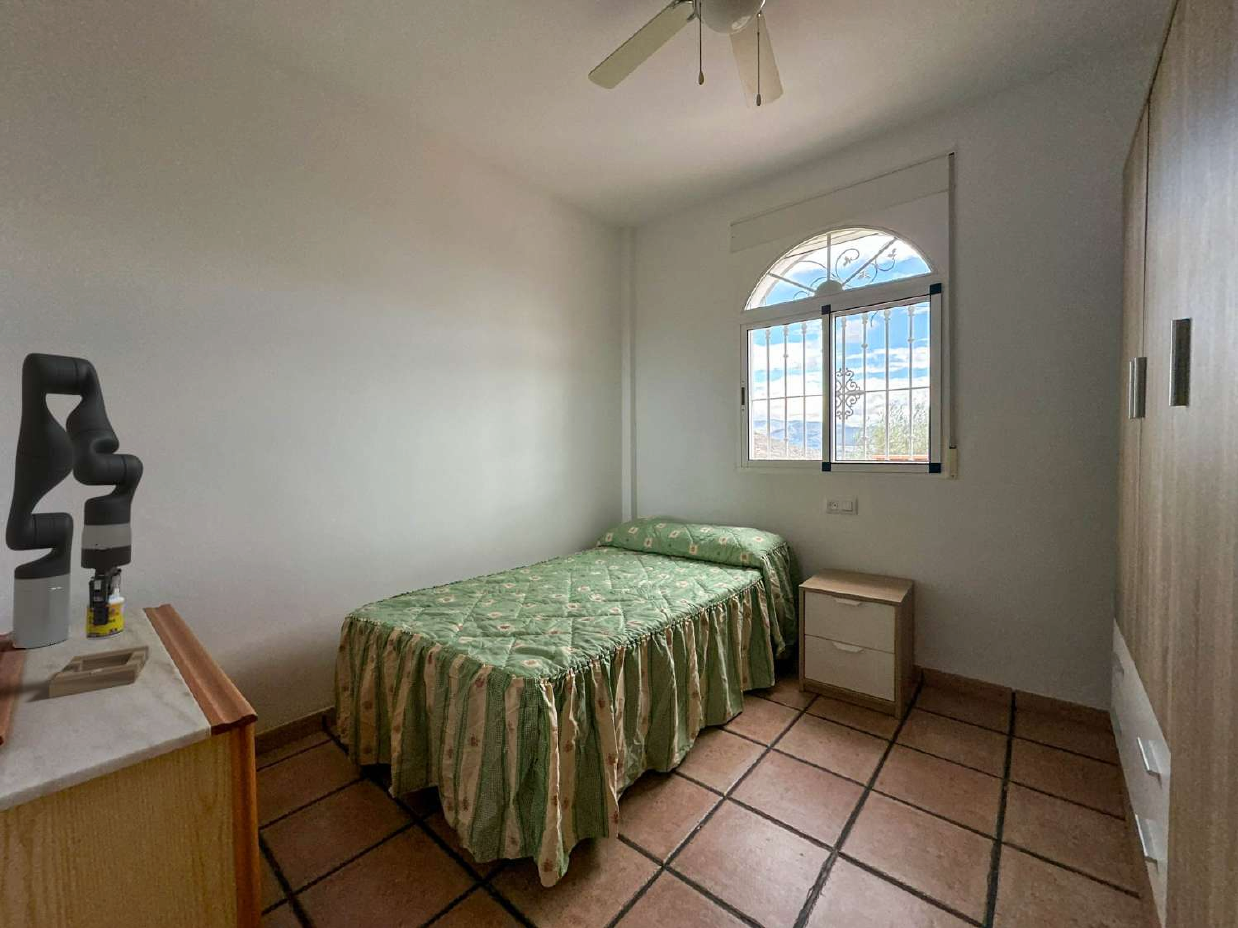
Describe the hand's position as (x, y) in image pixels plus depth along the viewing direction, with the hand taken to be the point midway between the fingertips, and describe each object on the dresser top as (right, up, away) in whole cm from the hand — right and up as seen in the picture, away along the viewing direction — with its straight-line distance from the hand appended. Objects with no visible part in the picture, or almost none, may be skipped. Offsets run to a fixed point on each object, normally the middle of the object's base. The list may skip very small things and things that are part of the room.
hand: (104, 620), depth 104 cm
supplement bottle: (0, -4, 0) cm, 4 cm away
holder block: (0, -12, 0) cm, 12 cm away
